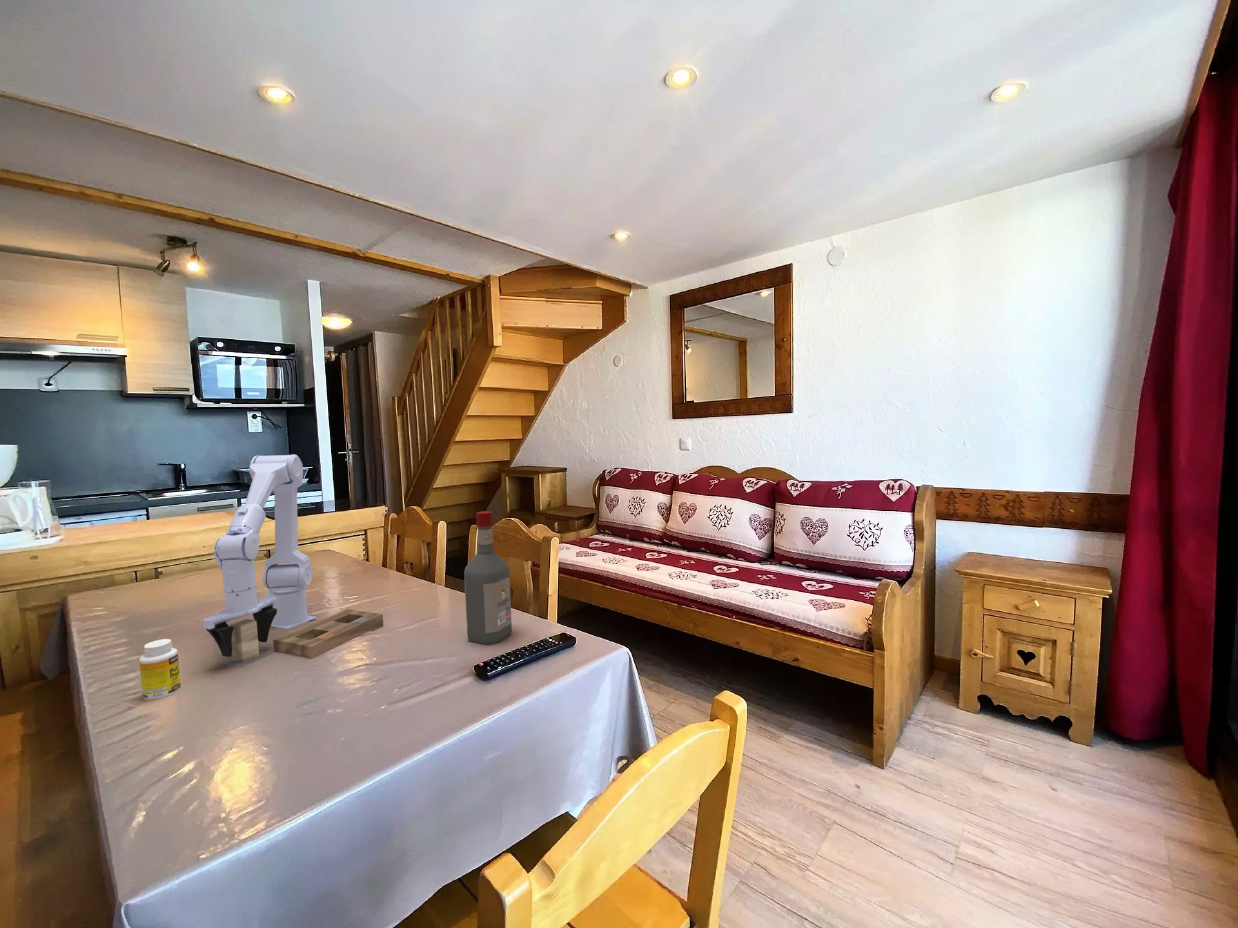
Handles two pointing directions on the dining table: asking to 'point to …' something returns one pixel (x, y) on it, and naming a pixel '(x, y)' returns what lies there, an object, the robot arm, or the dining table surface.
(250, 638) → the birch plug
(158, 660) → the supplement bottle
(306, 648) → the socket board
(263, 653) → the mat
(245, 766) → the dining table surface
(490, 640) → the liquor
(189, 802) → the dining table surface
